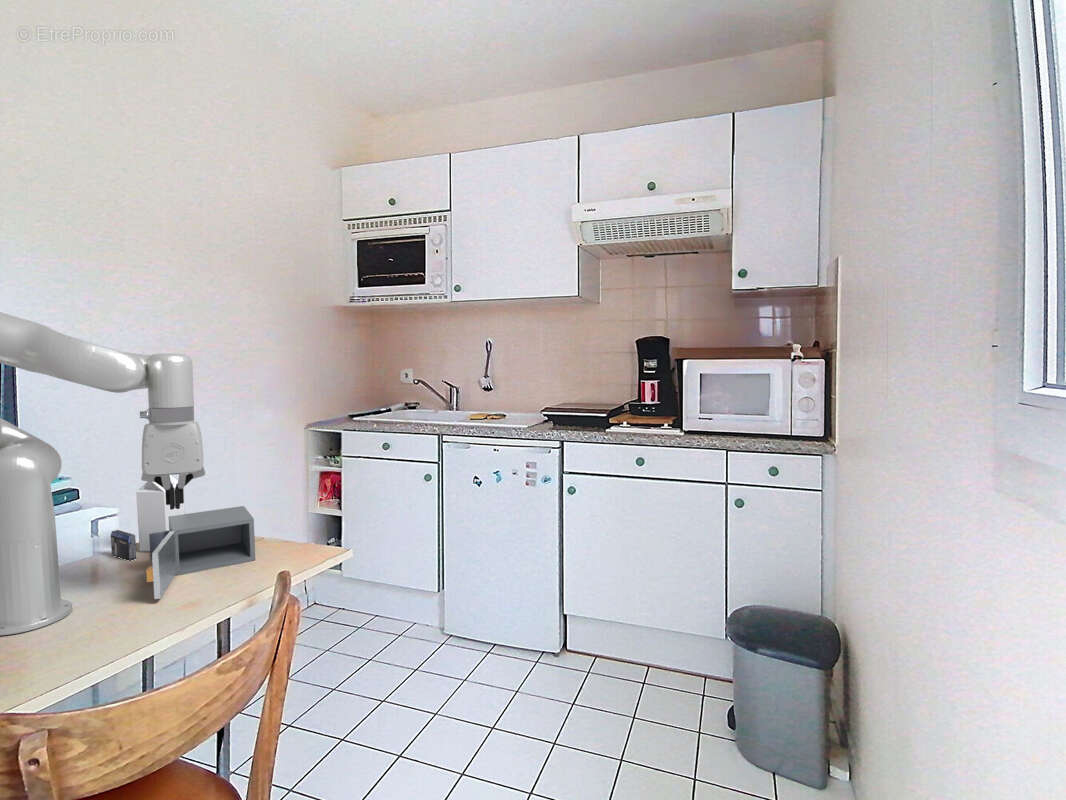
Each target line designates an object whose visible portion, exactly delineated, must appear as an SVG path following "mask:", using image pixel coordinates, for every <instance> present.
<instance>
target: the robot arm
mask: <svg viewBox="0 0 1066 800" xmlns="http://www.w3.org/2000/svg"><path fill="white" fill-rule="evenodd" d="M0 364H2V365H6V366H9V367H14V368H17V369H21V370H24V371H26V372H32V373H35V374H37V373H38V374H41V375H46V376H49V377H53V378H56V379H60V380H62V381H63V380H64V381H67V382H71V383H75V384H78V385H83V386H86V387H90V388H94V389H97V390H101V391H105V392H108V393H109V392H111V393H115V394H118V393H120V394H122V393H128V392H131V391H135V390H143V389H144V390H146V389H147V395H148V396H147V397H148V398H147V399H148V400H147V401H148V409H146V410H144V411H142V410H141V411H139V419H144V420H145V419H146V420H147V421H148V422H149V423H145V424H144V426H143V429H142V431H143V432H142V439H141V440H142V441H141V470H142V471H141V472H142V474H141V478H140V479H141V481H143V482H148V481H149V482H156V483H157V484H159V485H160V486H161V487H163V488H164V489H165V493H166V505H170V510H172V509H174V508H175V509H180V504H182V503H184V504H185V492H184V490H185V489H184V488H185V487H186V486H187V485H188V484H189V483H190V482H191V481H192V480H194V479H198V478H201V477H204V476H205V475H206V470H205V468H204V448H203V437H202V431H201V427H200V424H199V422H198V421H195V406H194V405H195V404H194V403H195V402H194V401H195V400H194V397H195V396H194V374H193V370H194V369H193V360H192V358H191V356H189V355H187V354H183V353H154V354H142V353H140V354H139V353H132V352H126V351H121V350H118V349H114V348H110V347H107V346H103V345H101V344H98V343H93V342H89V341H86V340H83V339H79V338H76V337H73V336H70V335H67V334H66V333H65V334H64V333H61V332H59V331H57V330H54V329H53V328H51V327H49V326H46V325H45V324H41V323H39V322H35V321H32V320H28V319H25V318H21V317H18V316H15V315H10V314H7V313H4V312H0ZM60 455H61V454H59V452H58V450H56V448H54V447H53V446H52V445H50V444H49V442H46V441H44V440H43V439H40V438H39V437H37V436H35V435H33V434H31V433H29V432H28V431H27V430H26V431H25V430H24V429H21V428H20V427H18V426H17V425H14V424H13V423H11V422H9V421H7V420H5V419H3V418H1V417H0V636H8V635H15V634H20V633H24V632H29V631H32V630H37V629H39V628H43V627H45V626H48V625H51V624H54V623H56V622H59V621H60V620H62V619H64V618H65V617H67V616H69V615H70V614H71V612H72V611H73V603H72V602H71V601H70V600H68V599H62V598H61V597H62V596H61V584H60V581H61V580H60V571H59V570H60V568H59V553H58V540H57V539H58V538H57V536H58V535H57V527H56V523H57V522H56V515H55V512H56V511H55V506H54V500H53V493H52V483H53V482H54V481H55V479H57V477H58V476H59V474H60V473H61V470H62V459H61V456H60ZM169 475H171V476H173V475H178V480H177V481H178V483H177V484H176V487H175V491H174V488H173V484H171V480H170V476H169ZM183 489H184V490H183Z"/></svg>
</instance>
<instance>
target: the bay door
mask: <svg viewBox="0 0 1066 800" xmlns="http://www.w3.org/2000/svg"><path fill="white" fill-rule="evenodd" d="M176 573H177V557H176V537H175V531H170V532H169V533H168V534H167V535H166V537H165V538H164V539H163V540H162V542H161V543H160V544H159V545H158V547H157V548H156V549H155V550H154V551H153V553H152V566H148V567H147V568H146V583H151V582H153V595H154V596H153V597H154V600H157V599H159V600H160V599H161V598H162V597H163V595H164V593H165V592H166V590H167V589H168V587H169V586H170V584H171V582H172V580H173V579H174V578H175V574H176Z"/></svg>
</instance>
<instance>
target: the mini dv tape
mask: <svg viewBox="0 0 1066 800" xmlns="http://www.w3.org/2000/svg"><path fill="white" fill-rule="evenodd" d="M136 543H137V542H136V534H134V533H130V532H128V531H127V532H126V531H124V530H120V529H116V530H112V531H111V532H110V544H111V556H112V557H114V556H116V557H115V558H117V557H120V558H122V559H121V560H123V559H126V560H129V561H130V562H132V561H131V560H133V561H135V560H134V559H137V544H136ZM120 558H119V559H120ZM126 560H125V561H126ZM129 561H128V562H129Z"/></svg>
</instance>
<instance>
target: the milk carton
mask: <svg viewBox="0 0 1066 800" xmlns="http://www.w3.org/2000/svg"><path fill="white" fill-rule="evenodd" d="M169 476H170V480H171V484H173V488H174V491H175V487H176V484H177V483H178V480H177V479H176V478H175V477H174V476H173V475H169ZM183 490H185V489H184V488H183ZM136 509H137V525H138V526H137V527H138V530H137V531H138V543H139V547H138V548H139V552H147V553H148V552H149V553H150V542H149V534H150V533H157V532H164V531H169V516H175V515H182V514H186V513H185V502H184V503H182V504H180V509H175V508H174V509H172V510H170V505H166V493H165V489H164V488H163V487H161V486H160V485H159V484H157V483H156V482H149V481H146V482H145V483H144V484H143V485H142V486H140V488H139V489H138V490H137V491H136Z"/></svg>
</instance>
